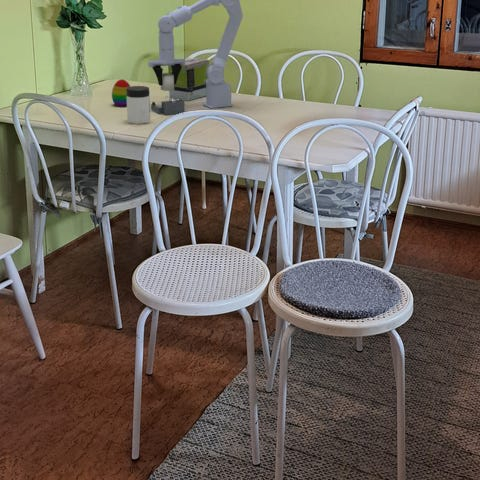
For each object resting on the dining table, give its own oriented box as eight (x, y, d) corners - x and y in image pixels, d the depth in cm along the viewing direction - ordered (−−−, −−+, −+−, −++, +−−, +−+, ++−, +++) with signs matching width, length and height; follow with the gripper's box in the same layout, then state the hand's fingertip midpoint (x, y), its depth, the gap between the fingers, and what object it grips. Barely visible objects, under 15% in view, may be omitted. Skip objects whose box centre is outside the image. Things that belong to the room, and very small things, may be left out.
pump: (171, 87, 312) (170, 72, 310) (176, 90, 308) (175, 74, 306) (158, 88, 310) (158, 73, 308) (163, 91, 306) (163, 75, 304)
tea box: (191, 92, 337) (191, 56, 331) (210, 95, 331) (210, 59, 326) (168, 98, 325) (167, 61, 320) (187, 101, 320) (186, 64, 314)
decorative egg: (108, 106, 311) (107, 80, 307) (118, 102, 318) (117, 76, 314) (127, 108, 308) (126, 82, 304) (137, 103, 315) (136, 78, 311)
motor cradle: (176, 107, 310) (176, 93, 308) (187, 112, 301) (187, 98, 299) (151, 109, 305) (150, 96, 303) (161, 115, 297) (161, 101, 295)
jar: (132, 125, 283) (131, 91, 278) (122, 120, 289) (121, 87, 284) (155, 122, 287) (154, 88, 283) (144, 117, 294) (143, 84, 289)
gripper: (180, 46, 310) (180, 81, 315) (144, 48, 304) (146, 84, 309) (187, 48, 304) (187, 84, 309) (151, 51, 298) (152, 87, 303)
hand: (167, 84), depth 308 cm, fingers closed on pump, 5 cm apart
